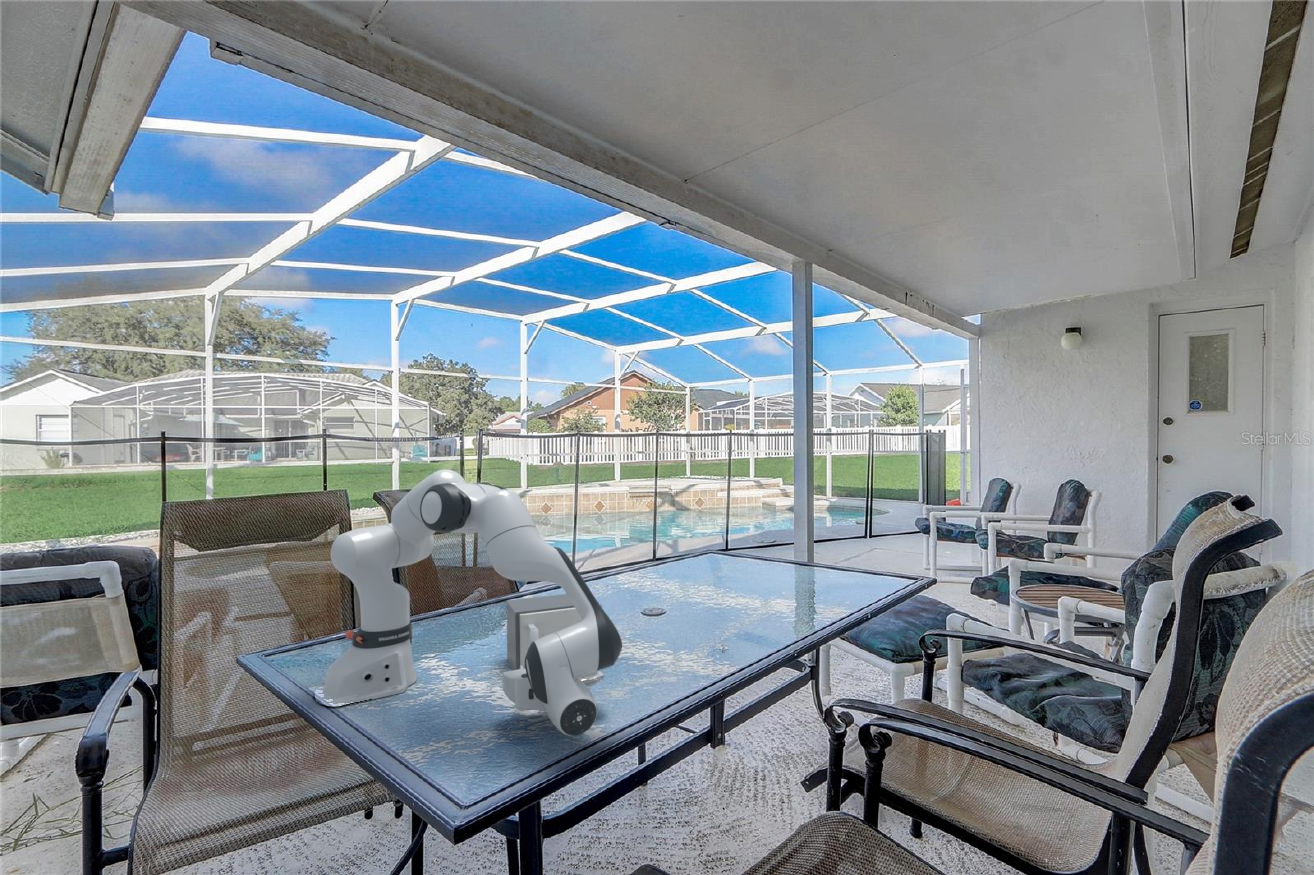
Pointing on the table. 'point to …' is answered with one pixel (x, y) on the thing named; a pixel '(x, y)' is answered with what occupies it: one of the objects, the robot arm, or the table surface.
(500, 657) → the table surface
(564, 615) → the door
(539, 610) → the box
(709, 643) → the table surface
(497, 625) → the table surface
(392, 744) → the table surface
